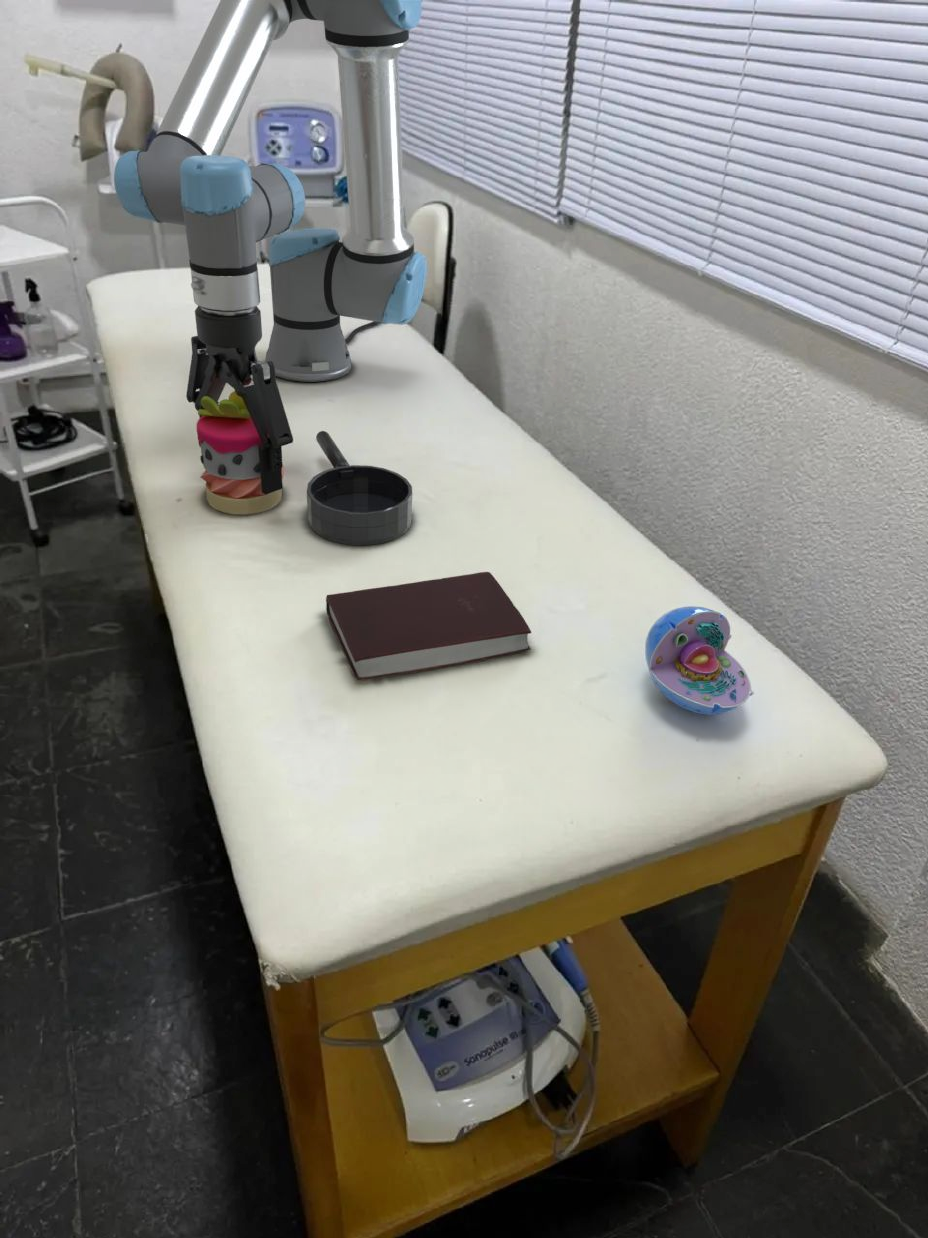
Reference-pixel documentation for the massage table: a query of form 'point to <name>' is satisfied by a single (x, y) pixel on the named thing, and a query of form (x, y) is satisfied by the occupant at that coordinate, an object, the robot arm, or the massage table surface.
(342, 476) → the pan handle
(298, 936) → the massage table surface
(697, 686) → the cell model
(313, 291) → the robot arm
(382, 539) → the pan
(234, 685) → the massage table surface
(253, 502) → the cake
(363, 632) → the book
